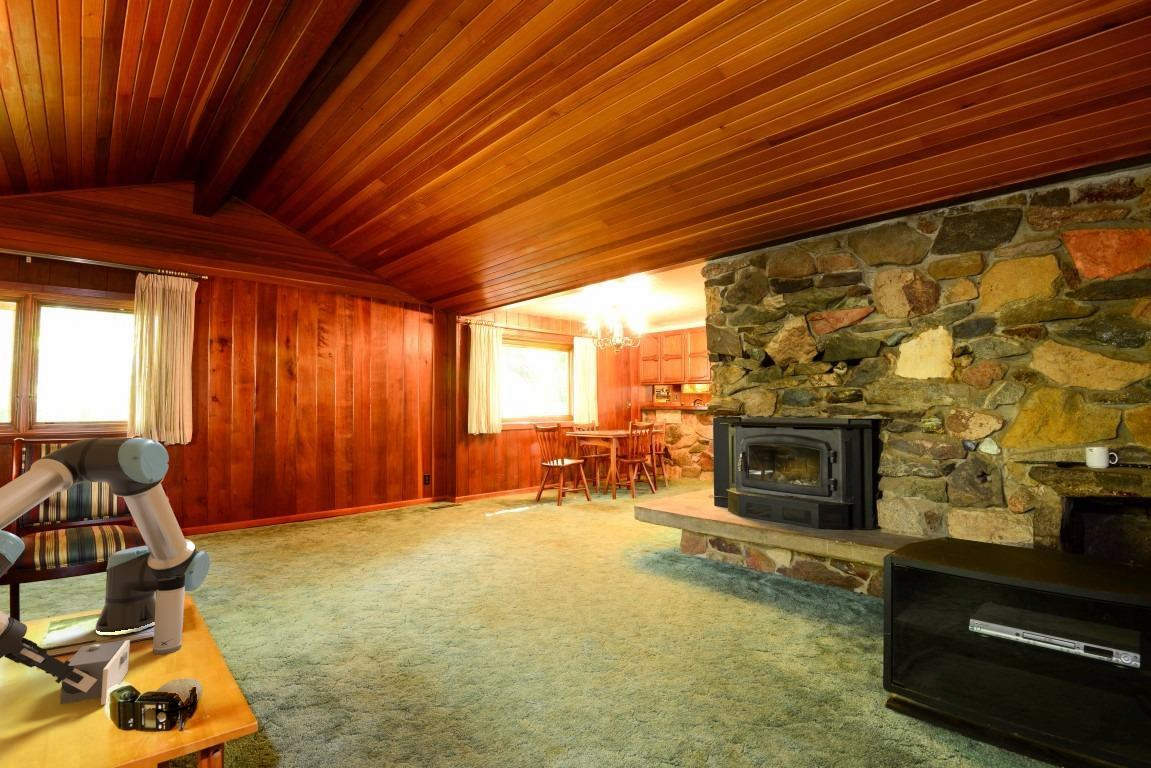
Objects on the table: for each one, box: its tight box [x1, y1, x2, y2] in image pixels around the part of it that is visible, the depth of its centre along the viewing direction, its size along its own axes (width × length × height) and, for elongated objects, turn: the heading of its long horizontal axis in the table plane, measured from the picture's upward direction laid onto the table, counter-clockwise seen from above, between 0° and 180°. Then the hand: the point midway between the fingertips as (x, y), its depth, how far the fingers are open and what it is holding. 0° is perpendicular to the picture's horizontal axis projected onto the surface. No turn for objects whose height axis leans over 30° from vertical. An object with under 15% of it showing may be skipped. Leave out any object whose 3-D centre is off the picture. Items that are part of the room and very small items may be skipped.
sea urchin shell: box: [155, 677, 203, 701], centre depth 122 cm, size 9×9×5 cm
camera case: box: [59, 640, 125, 705], centre depth 127 cm, size 14×8×9 cm, turn 27°
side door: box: [100, 639, 131, 706], centre depth 127 cm, size 17×1×8 cm, turn 27°
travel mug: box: [152, 574, 186, 655], centre depth 149 cm, size 6×7×20 cm
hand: (90, 685), depth 120 cm, fingers closed
